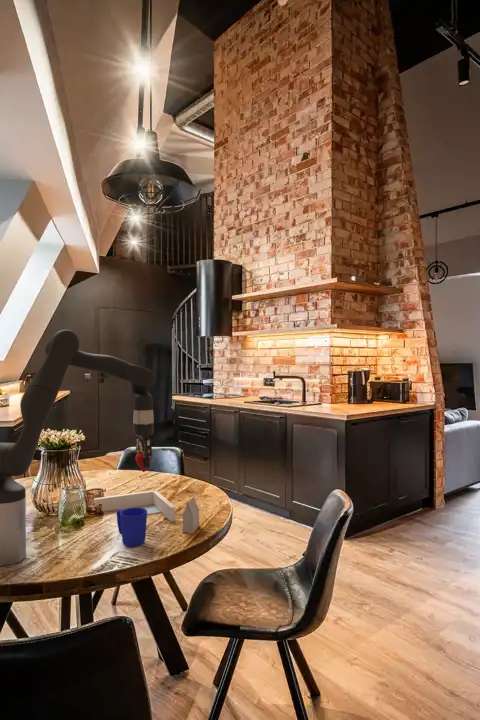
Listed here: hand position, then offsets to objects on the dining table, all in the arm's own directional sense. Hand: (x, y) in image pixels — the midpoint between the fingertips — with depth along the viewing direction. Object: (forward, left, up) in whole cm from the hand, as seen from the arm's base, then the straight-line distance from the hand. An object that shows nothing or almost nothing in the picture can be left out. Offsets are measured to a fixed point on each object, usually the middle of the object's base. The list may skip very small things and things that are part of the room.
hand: (143, 465), depth 176 cm
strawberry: (0, 0, -3) cm, 3 cm away
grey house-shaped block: (-26, -9, -17) cm, 33 cm away
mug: (-28, +12, -17) cm, 35 cm away
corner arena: (-4, +5, -17) cm, 18 cm away
